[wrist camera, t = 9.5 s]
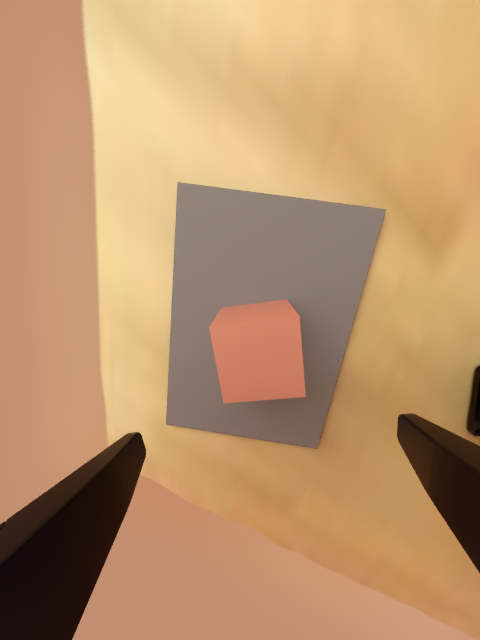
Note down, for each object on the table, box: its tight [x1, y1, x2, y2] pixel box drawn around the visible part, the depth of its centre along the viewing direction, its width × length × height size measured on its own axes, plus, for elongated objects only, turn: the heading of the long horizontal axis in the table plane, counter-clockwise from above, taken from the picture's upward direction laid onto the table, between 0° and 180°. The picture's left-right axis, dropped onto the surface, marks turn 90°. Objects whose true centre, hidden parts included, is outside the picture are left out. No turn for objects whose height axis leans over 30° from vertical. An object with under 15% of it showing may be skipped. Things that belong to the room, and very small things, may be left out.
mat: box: [166, 182, 386, 449], centre depth 18 cm, size 20×14×1 cm
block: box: [209, 299, 306, 403], centre depth 15 cm, size 5×5×5 cm
